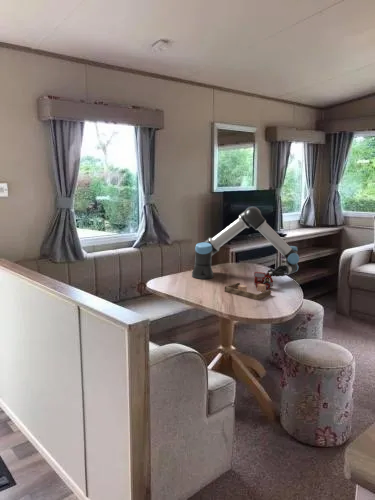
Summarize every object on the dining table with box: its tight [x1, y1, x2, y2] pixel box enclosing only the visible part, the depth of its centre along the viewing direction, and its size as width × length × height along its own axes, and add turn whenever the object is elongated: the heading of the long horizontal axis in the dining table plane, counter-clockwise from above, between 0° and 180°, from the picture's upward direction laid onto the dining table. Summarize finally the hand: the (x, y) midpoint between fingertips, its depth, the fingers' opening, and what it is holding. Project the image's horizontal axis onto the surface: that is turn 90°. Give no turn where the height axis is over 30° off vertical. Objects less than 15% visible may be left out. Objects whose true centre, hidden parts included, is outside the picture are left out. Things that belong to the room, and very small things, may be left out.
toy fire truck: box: [253, 271, 274, 291], centre depth 268 cm, size 7×12×10 cm, turn 80°
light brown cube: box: [237, 284, 248, 292], centre depth 257 cm, size 4×4×4 cm
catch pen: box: [224, 282, 272, 301], centre depth 255 cm, size 24×15×3 cm, turn 49°
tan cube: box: [256, 284, 267, 293], centre depth 262 cm, size 4×4×4 cm
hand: (266, 275), depth 270 cm, fingers closed
